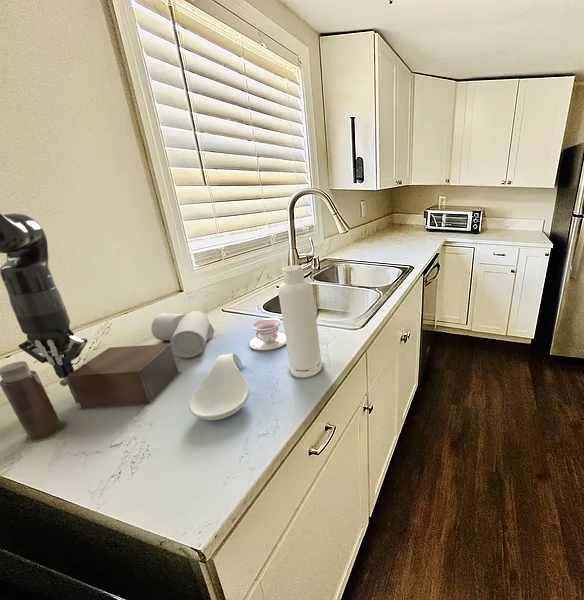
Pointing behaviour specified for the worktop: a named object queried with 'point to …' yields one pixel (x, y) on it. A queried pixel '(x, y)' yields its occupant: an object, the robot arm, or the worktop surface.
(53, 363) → the robot arm
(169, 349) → the cabinet
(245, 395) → the spoon rest
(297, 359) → the bottle
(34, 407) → the pepper mill
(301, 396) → the worktop surface
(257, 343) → the teacup
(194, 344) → the l-shaped cylinder
